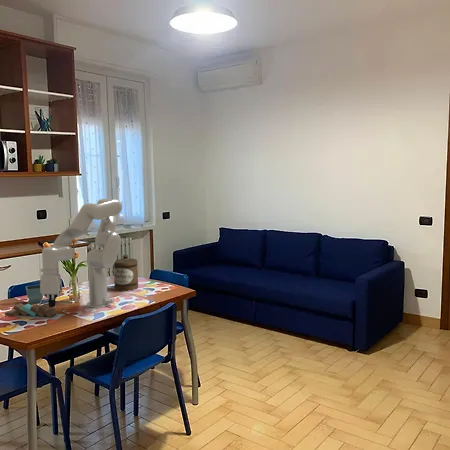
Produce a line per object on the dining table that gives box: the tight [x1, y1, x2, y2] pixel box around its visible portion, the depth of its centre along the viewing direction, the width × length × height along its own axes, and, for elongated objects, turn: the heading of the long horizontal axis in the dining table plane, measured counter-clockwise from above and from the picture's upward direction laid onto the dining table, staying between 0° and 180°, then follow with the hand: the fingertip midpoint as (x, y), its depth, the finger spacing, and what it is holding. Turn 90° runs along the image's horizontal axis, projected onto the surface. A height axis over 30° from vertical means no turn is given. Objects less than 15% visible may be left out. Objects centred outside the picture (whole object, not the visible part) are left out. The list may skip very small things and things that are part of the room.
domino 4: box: [38, 304, 58, 318], centre depth 239 cm, size 2×5×8 cm
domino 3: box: [30, 303, 47, 317], centre depth 240 cm, size 2×5×8 cm
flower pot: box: [25, 284, 44, 304], centre depth 265 cm, size 9×9×9 cm
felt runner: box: [15, 313, 66, 320], centre depth 240 cm, size 23×9×1 cm, turn 80°
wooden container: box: [113, 254, 139, 292], centre depth 297 cm, size 15×15×22 cm
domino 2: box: [12, 302, 30, 316], centre depth 241 cm, size 2×5×8 cm
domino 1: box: [4, 309, 22, 317], centre depth 242 cm, size 2×5×8 cm
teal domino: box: [21, 302, 38, 317], centre depth 241 cm, size 2×5×8 cm
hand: (52, 306), depth 238 cm, fingers closed
